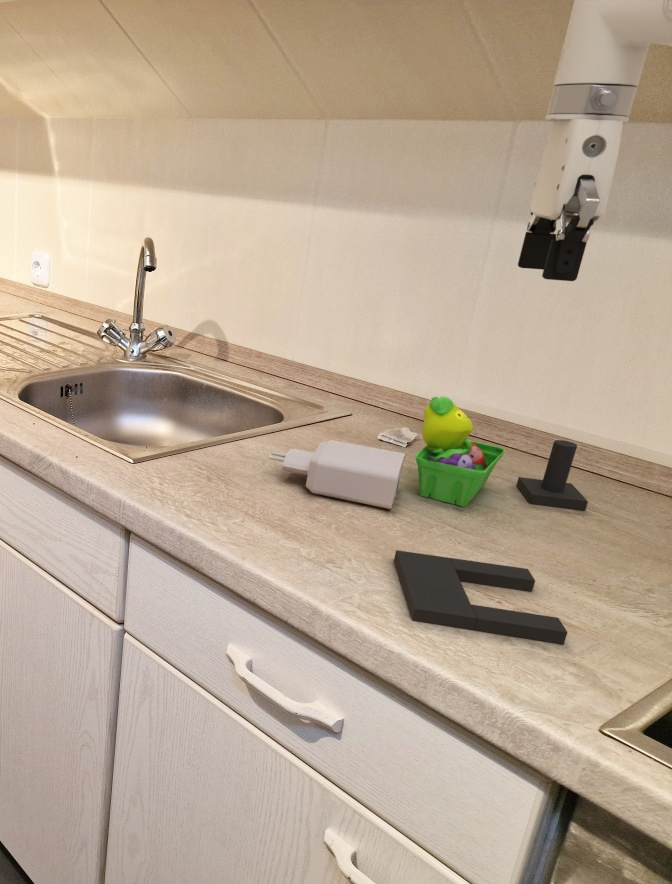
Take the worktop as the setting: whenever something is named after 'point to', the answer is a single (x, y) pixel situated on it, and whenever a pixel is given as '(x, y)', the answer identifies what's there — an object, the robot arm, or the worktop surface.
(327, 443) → the charger
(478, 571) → the black flat u-shaped plate
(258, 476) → the worktop surface
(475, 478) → the fruit basket
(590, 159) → the robot arm
